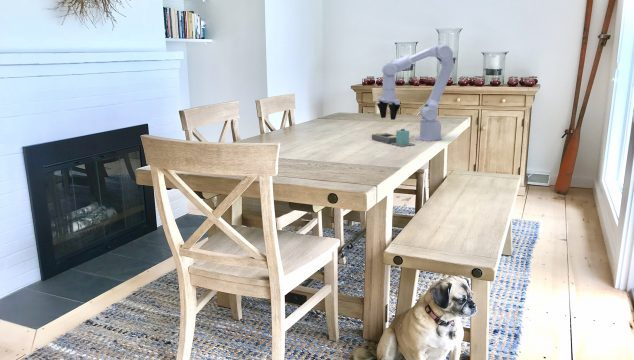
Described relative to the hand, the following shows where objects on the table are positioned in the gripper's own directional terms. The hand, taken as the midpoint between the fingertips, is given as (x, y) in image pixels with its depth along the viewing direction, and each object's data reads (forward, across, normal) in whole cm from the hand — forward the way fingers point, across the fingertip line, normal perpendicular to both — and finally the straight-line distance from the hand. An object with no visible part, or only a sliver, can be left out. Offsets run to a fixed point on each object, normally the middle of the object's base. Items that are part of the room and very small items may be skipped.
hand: (388, 118), depth 247 cm
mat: (+10, +15, -3) cm, 18 cm away
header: (+10, +3, -2) cm, 11 cm away
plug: (+10, +15, -3) cm, 18 cm away
